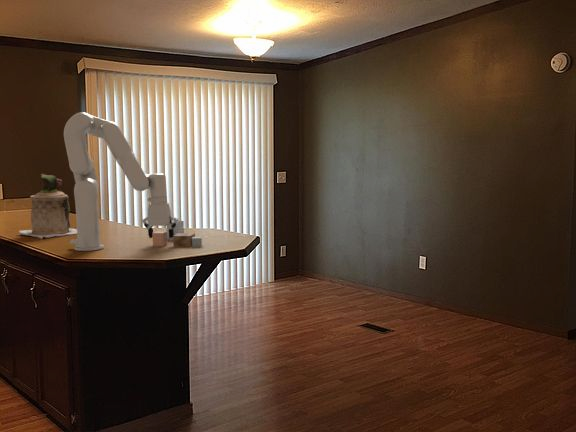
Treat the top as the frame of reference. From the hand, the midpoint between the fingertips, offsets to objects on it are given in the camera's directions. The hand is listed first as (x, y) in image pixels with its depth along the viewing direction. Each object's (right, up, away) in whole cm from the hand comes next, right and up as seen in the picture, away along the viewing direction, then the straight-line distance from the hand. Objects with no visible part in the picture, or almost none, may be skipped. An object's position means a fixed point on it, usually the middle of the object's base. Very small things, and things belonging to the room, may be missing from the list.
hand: (161, 237), depth 264 cm
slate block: (+17, -4, -4) cm, 18 cm away
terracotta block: (-1, -4, 0) cm, 4 cm away
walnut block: (+11, -4, 0) cm, 11 cm away
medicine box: (+3, -1, +19) cm, 19 cm away
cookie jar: (-67, 0, +40) cm, 78 cm away
